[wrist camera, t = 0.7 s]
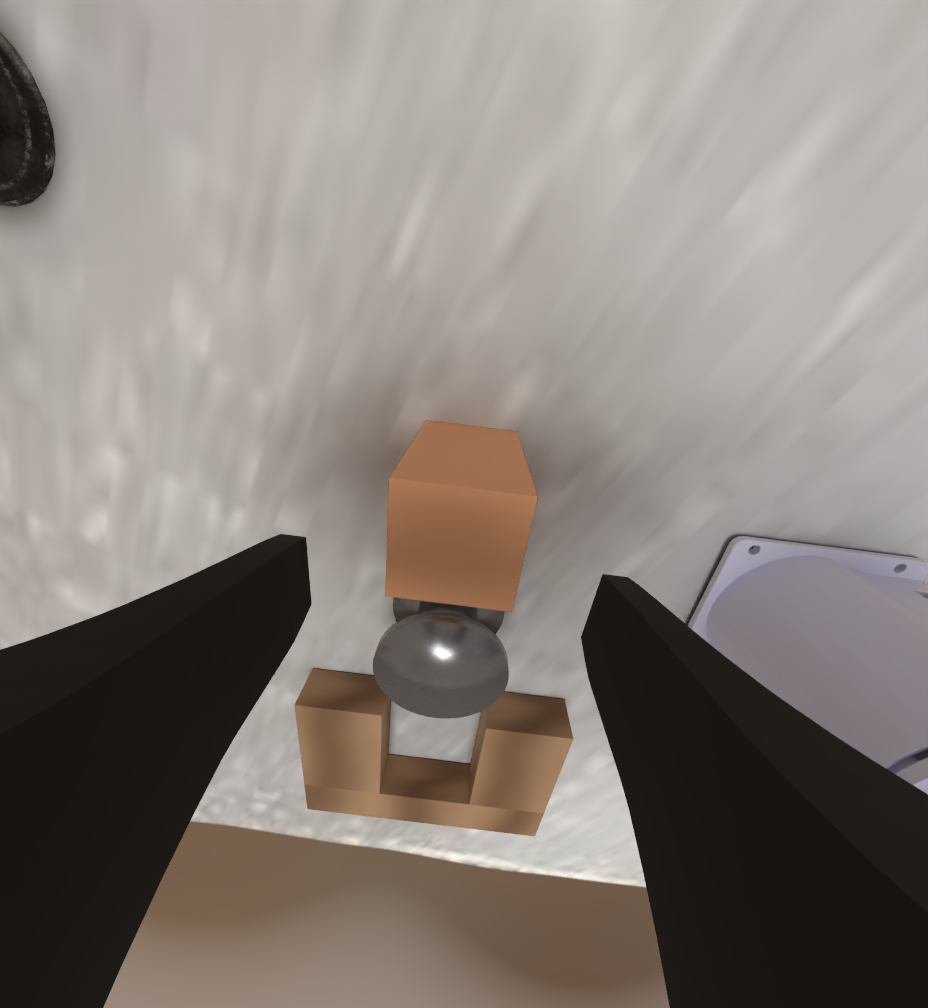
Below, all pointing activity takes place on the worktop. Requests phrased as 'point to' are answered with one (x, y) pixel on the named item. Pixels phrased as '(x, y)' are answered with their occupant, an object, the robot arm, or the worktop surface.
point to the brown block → (459, 517)
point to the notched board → (424, 782)
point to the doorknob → (442, 659)
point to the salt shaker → (22, 132)
